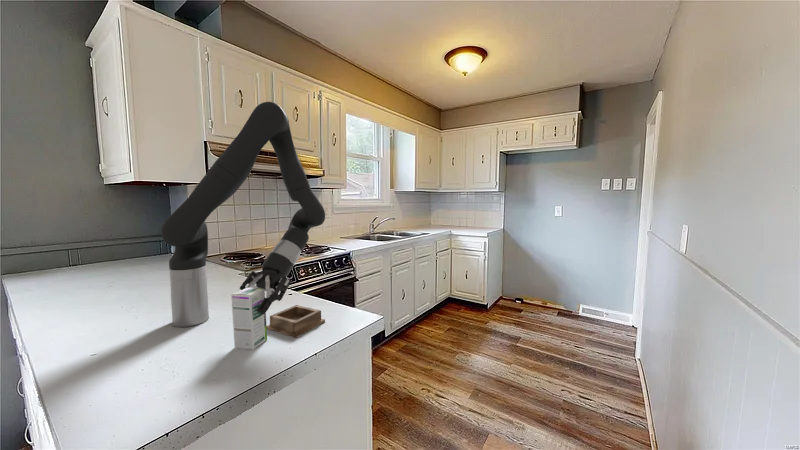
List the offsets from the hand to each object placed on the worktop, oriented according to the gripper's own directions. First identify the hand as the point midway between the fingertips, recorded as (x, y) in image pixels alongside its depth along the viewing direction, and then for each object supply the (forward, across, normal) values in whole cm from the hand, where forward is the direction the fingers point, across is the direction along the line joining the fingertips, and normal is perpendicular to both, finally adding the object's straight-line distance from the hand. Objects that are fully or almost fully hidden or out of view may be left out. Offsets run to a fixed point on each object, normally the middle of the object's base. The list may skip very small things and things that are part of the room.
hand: (249, 309), depth 80 cm
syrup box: (+7, 0, +7) cm, 10 cm away
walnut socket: (-3, +2, +17) cm, 17 cm away
